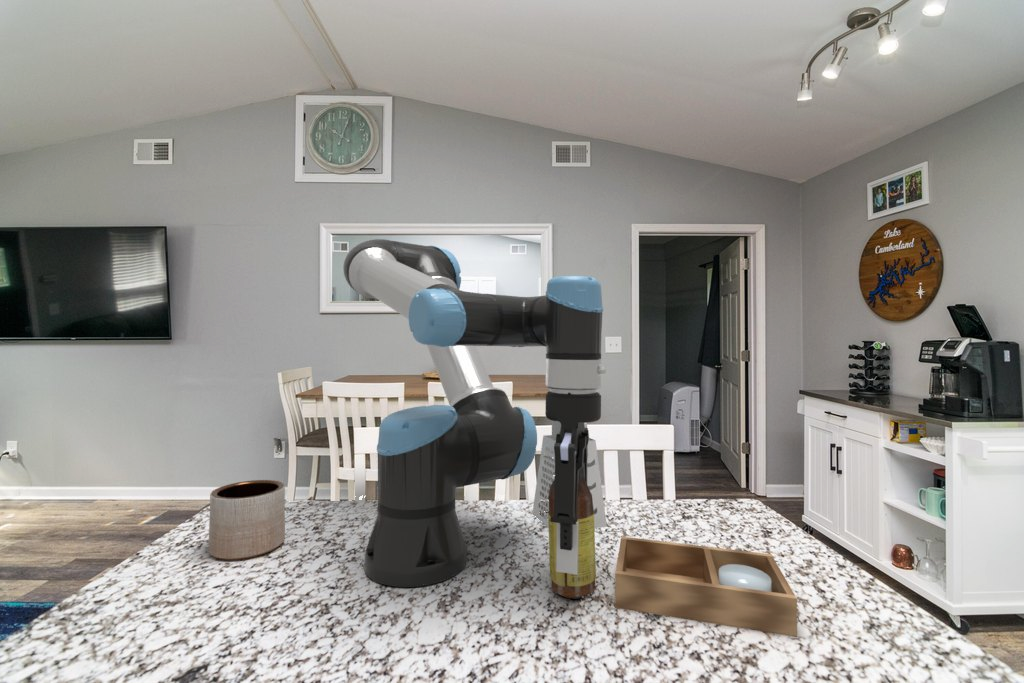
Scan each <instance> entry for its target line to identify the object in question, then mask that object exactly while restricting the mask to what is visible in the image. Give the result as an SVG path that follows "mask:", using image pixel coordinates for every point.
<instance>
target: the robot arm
mask: <svg viewBox="0 0 1024 683" xmlns="http://www.w3.org/2000/svg"><path fill="white" fill-rule="evenodd" d="M460 267H461V266H460V264H459V261H458V259H457V258H456V256H455V254H453V253H452V252H451V251H450V250H448V249H446V248H443V247H442V248H440V247H438V246H436V245H423V244H416V243H415V244H414V243H409V242H403V241H397V240H390V239H385V238H384V239H382V238H381V239H379V238H376V239H368V240H366V241H362V242H359V244H357V245H355V246H354V247H352V248H351V249H350V250H349V252H348V253H347V254H346V256H345V259H344V262H343V276H344V278H345V281H346V283H347V284H348V286H350V288H351V289H352V290H354V291H355V292H356V293H358V294H359V295H360V296H363V297H365V298H367V299H377V301H380V302H381V303H383V304H384V305H386V306H387V307H389V308H390V309H392V310H393V311H395V312H397V313H398V314H400V315H402V316H403V317H404V318H406V319H407V320H408V325H409V326H408V327H409V330H410V332H412V336H413V338H414V340H415V341H416V342H417V343H420V344H421V345H424V346H425V345H426V346H427V348H428V349H427V350H428V352H429V354H430V357H431V359H432V363H433V364H434V367H435V370H436V372H437V373H436V374H437V375H438V379H439V381H440V383H441V386H442V389H443V391H444V394H445V398H446V399H447V401H448V402H447V403H448V405H447V404H431V405H421V406H414V407H410V408H405V409H402V410H401V409H400V410H397V411H395V412H392V413H390V414H388V415H387V416H386V417H384V418H383V419H382V420H381V422H380V425H379V427H378V429H379V430H378V440H377V445H376V452H377V515H376V518H375V521H374V524H373V528H372V530H371V534H370V537H369V539H368V543H367V544H366V549H365V552H364V572H365V575H366V576H367V577H368V578H369V579H371V580H372V581H373V582H376V583H379V584H381V585H384V586H390V587H395V588H396V587H397V588H414V587H423V586H424V587H425V586H428V585H434V584H438V583H441V582H443V581H446V580H448V579H451V578H452V577H454V576H456V575H457V574H459V573H460V572H461V571H462V570H463V569H464V568H465V566H466V563H467V544H466V541H465V540H466V539H465V538H464V537H465V536H464V533H463V531H462V528H461V525H460V520H459V518H458V515H457V512H456V491H457V488H461V487H466V486H471V485H476V484H481V483H487V482H493V481H498V480H506V479H509V478H510V477H514V476H517V475H521V474H523V473H525V472H526V471H527V470H528V469H529V468H530V466H531V464H532V463H533V461H534V459H535V456H536V453H537V446H538V432H537V426H536V423H535V420H534V417H533V416H532V415H531V413H530V412H529V411H528V410H527V409H525V408H522V407H520V406H514V407H513V406H512V404H511V402H510V400H509V398H508V395H507V393H506V392H505V391H504V390H503V389H501V388H498V387H495V386H494V385H493V383H492V381H491V378H490V376H489V373H488V371H487V369H486V366H485V365H484V362H483V361H482V358H481V356H480V353H479V351H478V349H477V347H512V348H516V347H517V348H523V347H524V348H525V347H546V349H545V350H546V353H545V387H546V388H548V389H549V391H547V392H546V393H545V412H544V413H545V418H547V419H548V420H550V421H551V422H552V421H559V422H560V423H561V429H560V434H557V435H556V443H555V446H554V450H555V475H554V476H555V485H554V515H553V517H551V522H555V523H557V550H556V572H563V573H569V574H576V575H577V574H578V523H579V522H578V521H577V502H578V484H579V470H580V469H582V468H583V470H584V478H585V481H586V483H587V457H588V447H587V445H588V442H589V438H590V433H589V431H590V430H589V429H588V427H587V428H585V426H584V423H587V424H588V423H595V422H597V421H599V420H600V419H601V417H602V395H601V393H600V392H597V390H599V389H601V387H602V386H601V385H602V383H601V382H602V377H601V375H603V374H606V373H607V369H606V366H601V364H602V329H603V328H602V327H603V312H604V307H603V298H602V296H603V295H602V294H603V293H602V286H601V283H600V281H599V280H598V279H597V278H595V277H593V276H585V275H584V276H583V275H562V276H555V277H552V278H550V279H548V281H547V283H546V291H545V295H539V296H536V295H535V296H518V295H517V296H515V295H505V294H493V293H491V294H490V293H480V292H470V291H464V290H461V289H460V288H461V284H462V277H461V276H460V274H461V272H462V271H461V268H460Z"/></svg>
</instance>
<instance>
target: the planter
mask: <svg viewBox="0 0 1024 683" xmlns="http://www.w3.org/2000/svg"><path fill="white" fill-rule="evenodd" d="M285 486H286V485H285V483H284V482H282V481H279V480H275V479H274V480H273V479H253V480H252V479H251V480H245V481H239V482H234V483H233V482H232V483H230V484H229V483H228V484H226V485H223V486H220V487H217V488H215V489H214V490H212V491H211V492H210V494H209V521H208V522H209V523H208V524H209V526H208V527H209V529H208V552H209V555H210V556H212V557H214V558H216V559H217V560H222V561H224V560H225V561H239V560H240V561H241V560H246V559H247V560H249V559H253V558H257V557H260V556H263V555H266V554H268V553H270V552H272V551H274V550H275V549H277V548H278V547H279V546H281V545H282V544H283V542H284V541H285V536H286V524H285V523H286V519H285V518H286V513H285V512H286V509H285V508H286V507H285V506H286V505H285V504H286V503H285V500H286V499H285V498H286V496H285V495H286V492H285V491H286V487H285Z"/></svg>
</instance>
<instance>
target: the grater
mask: <svg viewBox="0 0 1024 683" xmlns="http://www.w3.org/2000/svg"><path fill="white" fill-rule="evenodd" d="M584 426H585V428H588V423H584ZM560 429H561V423H560V422H559V421H552V420H551V434H548V435H547V434H546V435H545V434H544V435H543V436H542V442H541V450H540V455H539V464H538V470H537V477H536V478H537V480H536V485H535V490H534V491H535V492H534V499H533V507H532V512H531V515H532V514H533V515H534V516H533V515H532V516H533V517H535V516H536V517H537V518H538V519H539V520H540V521H539V520H538V519H537V518H536V517H535V518H536V519H537V520H538V521H539V522H541V521H542V522H543V523H544V524H545V527H547V528H548V529H549V522H548V512H549V500H548V496H549V489H550V486H551V485H552V483H553V481H554V479H555V452H554V444H555V443H556V435H557V434H560ZM596 442H597V441H596V439H594V438H591V437H589V442H588V445H587V447H588V457H587V485H588V488H589V490H590V492H591V494H592V500H593V508H594V529H599V528H605V527H608V524H607V518H606V509H605V501H604V495H603V488H602V481H601V472H600V464H599V458H598V457H599V456H598V450H597V443H596ZM544 455H545V456H544ZM544 511H545V512H544ZM546 511H548V512H547V513H546ZM539 512H541V513H539ZM545 516H546V518H545ZM542 522H541V523H542ZM543 523H542V524H543ZM544 524H543V525H544Z"/></svg>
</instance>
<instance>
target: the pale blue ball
mask: <svg viewBox="0 0 1024 683" xmlns="http://www.w3.org/2000/svg"><path fill="white" fill-rule="evenodd" d="M719 584H720V585H725V586H732V587H739V588H746V589H753V590H761V591H768V592H771V578H770V577H769V576H768V575H767V574H766V573H764V572H763V571H761V570H758V569H756V568H753V567H749V566H745V565H738V564H728V565H724V566H722V567H720V568H719Z"/></svg>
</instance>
